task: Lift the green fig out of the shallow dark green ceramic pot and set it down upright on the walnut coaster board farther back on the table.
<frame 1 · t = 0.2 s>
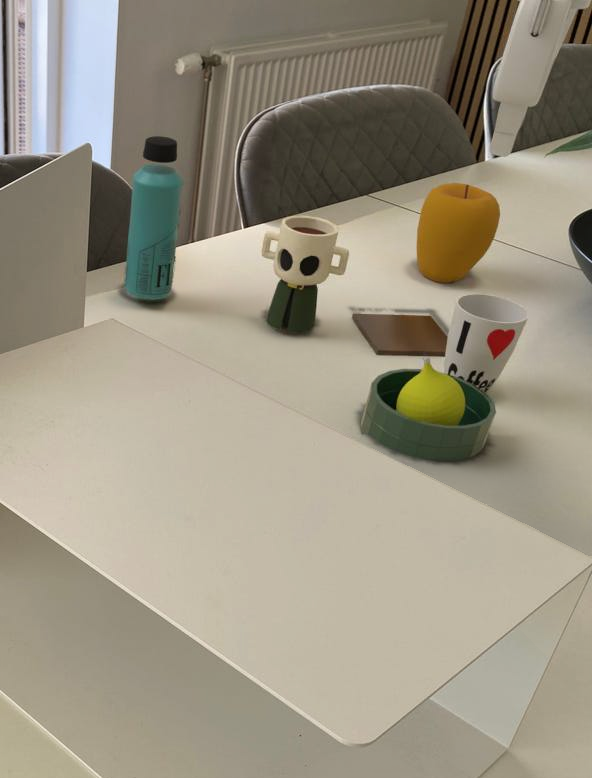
hand: (504, 140, 87), 31 cm above the table, tool pointing down, fingers open, 8 cm apart
cup: (464, 389, 120), on the table
coaster: (404, 336, 130), on the table
pot: (420, 438, 110), on the table
character mug: (289, 328, 130), on the table
orange rounded piece: (441, 277, 147), on the table
green fig: (420, 436, 110), resting on pot
beverage bottle: (146, 302, 132), on the table
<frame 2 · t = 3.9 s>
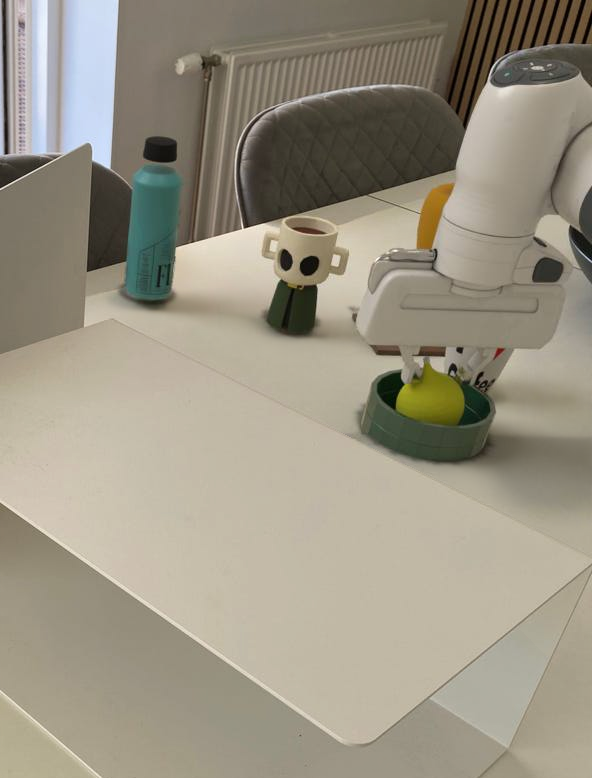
hand: (436, 382, 105), 7 cm above the table, tool pointing down, fingers closed on green fig, 5 cm apart
green fig: (419, 436, 110), resting on pot, touching gripper
everything else where it was.
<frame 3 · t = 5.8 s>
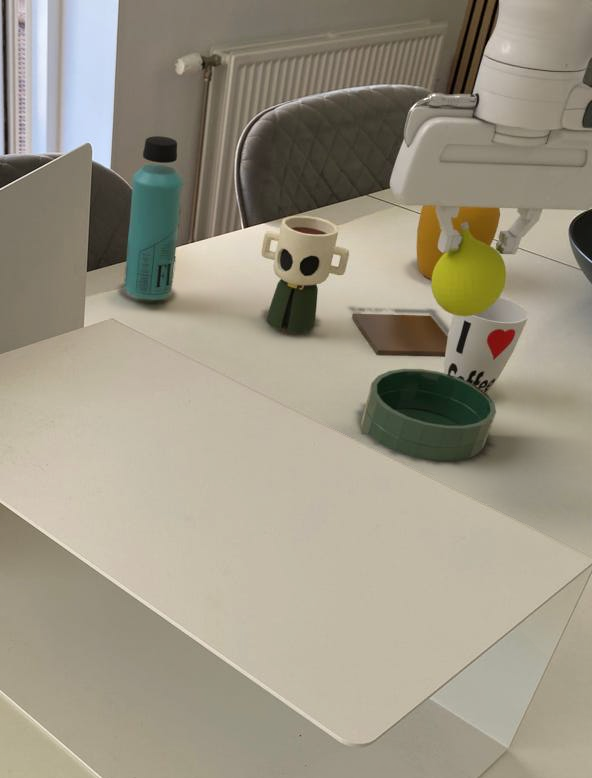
hand: (476, 251, 98), 20 cm above the table, tool pointing down, fingers closed on green fig, 5 cm apart
green fig: (457, 315, 103), point 13 cm above the table, touching gripper
everything else where it was.
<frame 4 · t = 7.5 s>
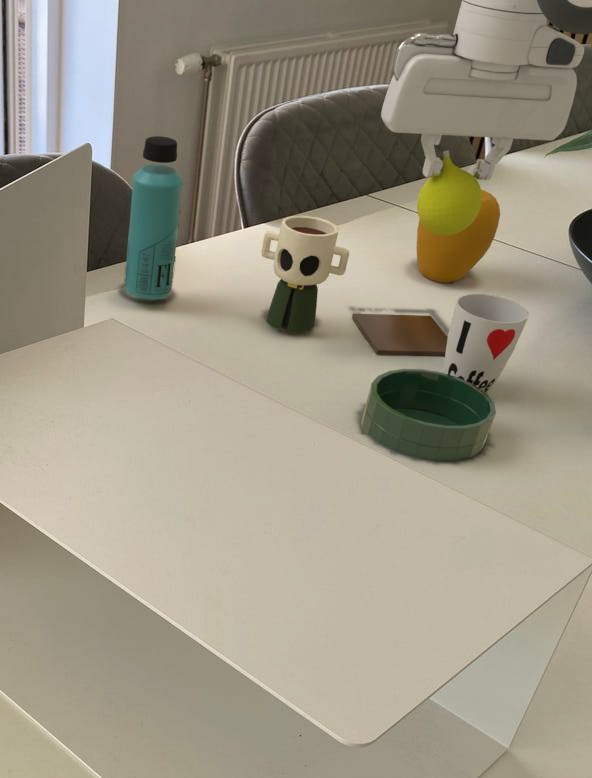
hand: (456, 177, 113), 21 cm above the table, tool pointing down, fingers closed on green fig, 5 cm apart
green fig: (439, 235, 117), point 15 cm above the table, touching gripper
everything else where it was.
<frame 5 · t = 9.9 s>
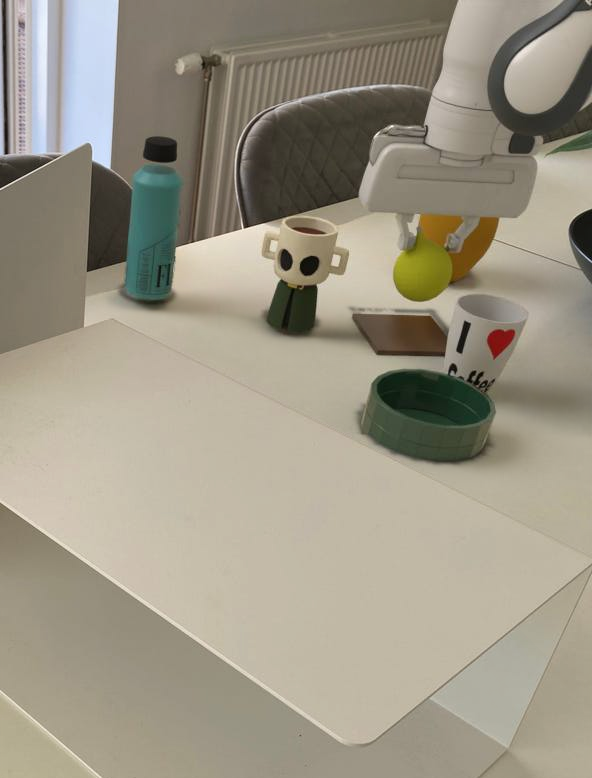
hand: (428, 250, 122), 11 cm above the table, tool pointing down, fingers closed on green fig, 5 cm apart
green fig: (414, 301, 127), point 5 cm above the table, touching gripper
everything else where it was.
when the fingers open (7 cm above the table, at t = 11.6 s): green fig stays where it is, resting on coaster.
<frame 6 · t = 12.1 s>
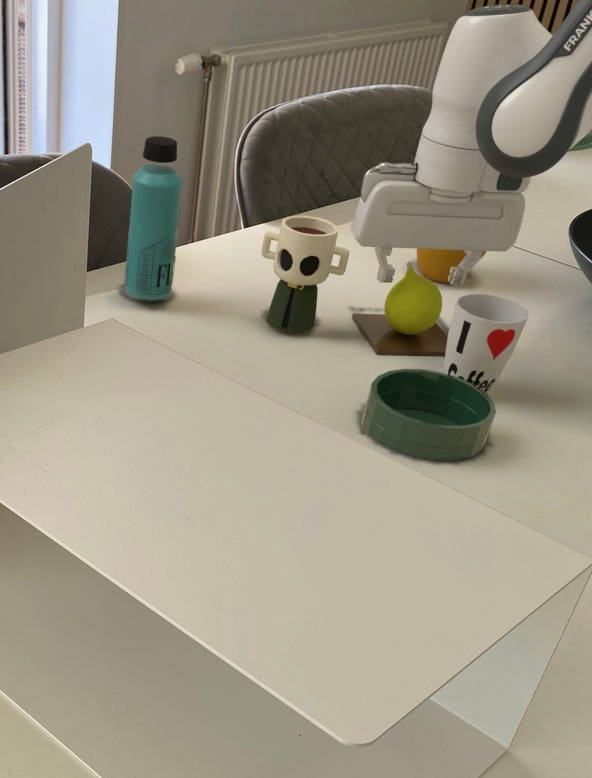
hand: (419, 282, 125), 7 cm above the table, tool pointing down, fingers open, 8 cm apart
green fig: (405, 333, 130), resting on coaster
everything else where it was.
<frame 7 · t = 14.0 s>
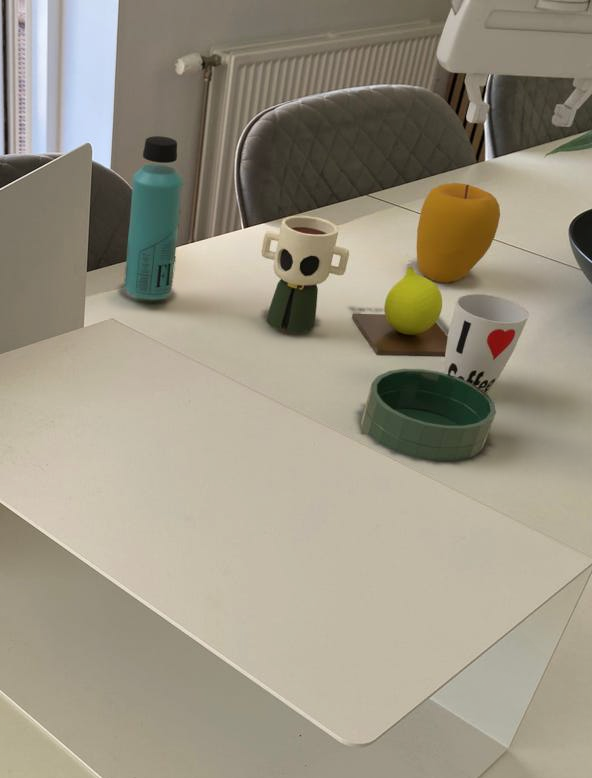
hand: (518, 123, 104), 28 cm above the table, tool pointing down, fingers open, 8 cm apart
nothing on the table moved.
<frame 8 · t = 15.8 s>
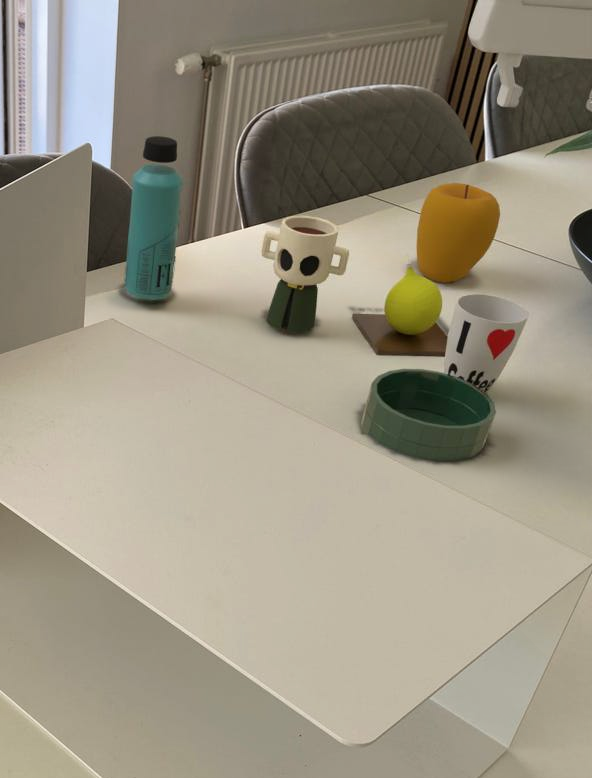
hand: (551, 108, 98), 31 cm above the table, tool pointing down, fingers open, 8 cm apart
nothing on the table moved.
at the end: green fig inside the target area on the coaster (0.0 cm from its centre), point 0.4 cm above the coaster's base; green fig tilted 0°; green fig touching coaster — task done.
